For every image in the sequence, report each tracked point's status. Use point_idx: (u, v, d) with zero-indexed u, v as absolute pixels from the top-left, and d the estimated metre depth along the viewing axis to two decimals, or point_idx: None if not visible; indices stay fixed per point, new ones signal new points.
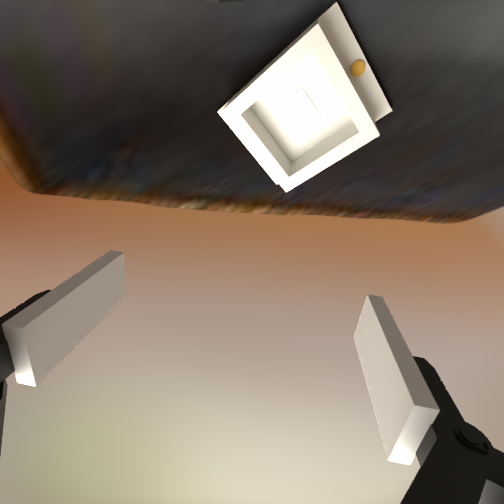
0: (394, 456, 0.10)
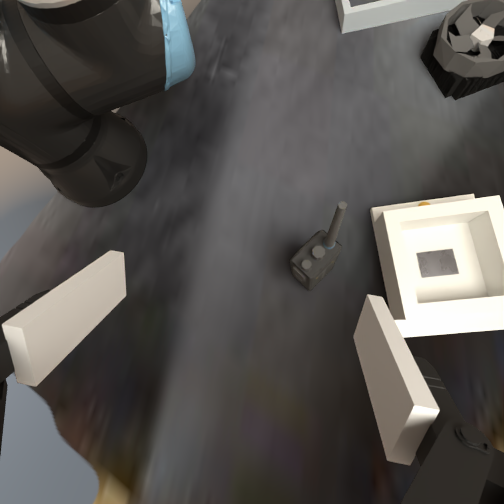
0: (394, 456, 0.10)
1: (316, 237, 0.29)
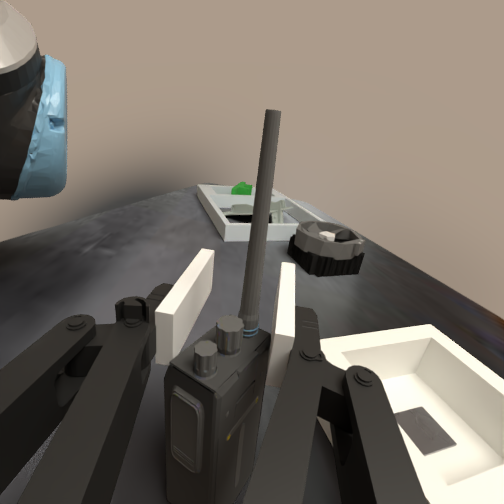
0: (269, 380, 0.12)
1: None
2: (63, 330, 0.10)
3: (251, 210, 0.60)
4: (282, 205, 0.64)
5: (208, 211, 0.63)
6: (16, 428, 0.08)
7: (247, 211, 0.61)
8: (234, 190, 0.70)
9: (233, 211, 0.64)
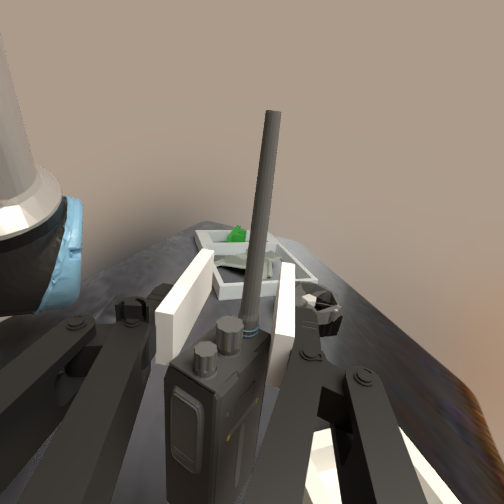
0: (269, 381, 0.12)
1: None
2: (63, 330, 0.10)
3: (242, 263, 0.66)
4: (271, 255, 0.69)
5: None
6: (16, 428, 0.08)
7: (239, 263, 0.66)
8: (229, 238, 0.75)
9: (226, 261, 0.69)
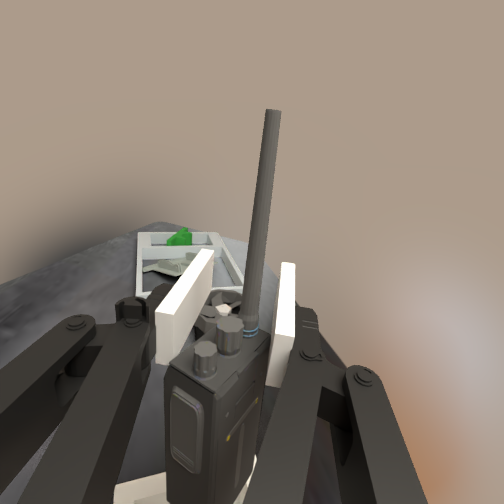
0: (269, 381, 0.12)
1: None
2: (63, 330, 0.10)
3: (171, 268, 0.62)
4: None
5: None
6: (16, 428, 0.08)
7: (168, 268, 0.63)
8: (169, 242, 0.72)
9: (159, 266, 0.66)
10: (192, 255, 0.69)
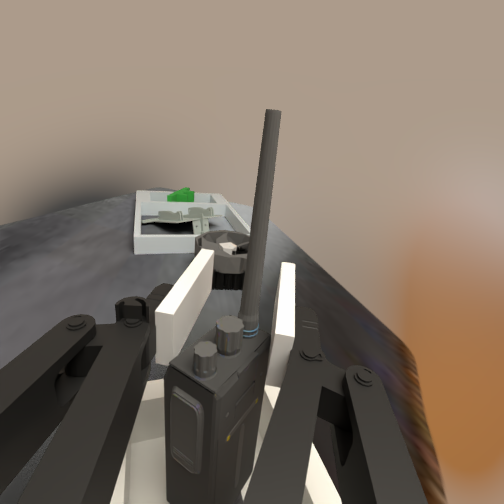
0: (269, 381, 0.12)
1: None
2: (63, 330, 0.10)
3: (172, 218, 0.58)
4: (210, 213, 0.61)
5: None
6: (16, 428, 0.08)
7: (169, 218, 0.59)
8: (170, 197, 0.67)
9: (160, 218, 0.62)
10: (195, 209, 0.65)
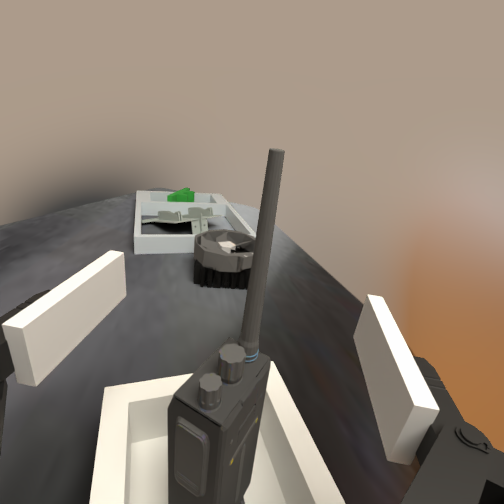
0: (394, 457, 0.10)
1: (221, 348, 0.15)
2: None
3: (171, 218, 0.58)
4: (209, 213, 0.61)
5: None
6: None
7: (169, 218, 0.59)
8: (170, 197, 0.67)
9: (159, 218, 0.62)
10: (195, 209, 0.64)
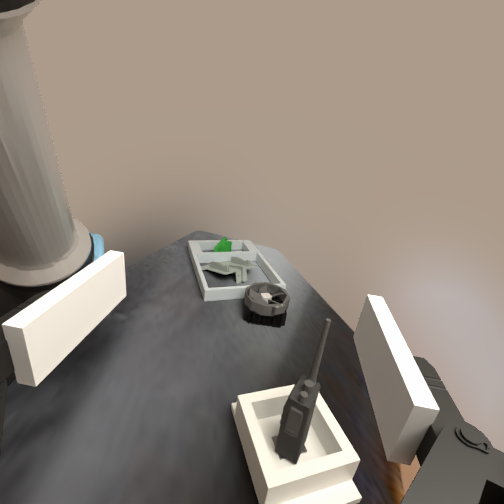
0: (394, 456, 0.10)
1: (300, 380, 0.38)
2: None
3: (221, 268, 0.81)
4: (248, 264, 0.83)
5: (195, 269, 0.83)
6: None
7: (219, 268, 0.82)
8: (216, 249, 0.89)
9: (211, 266, 0.85)
10: (236, 259, 0.87)
